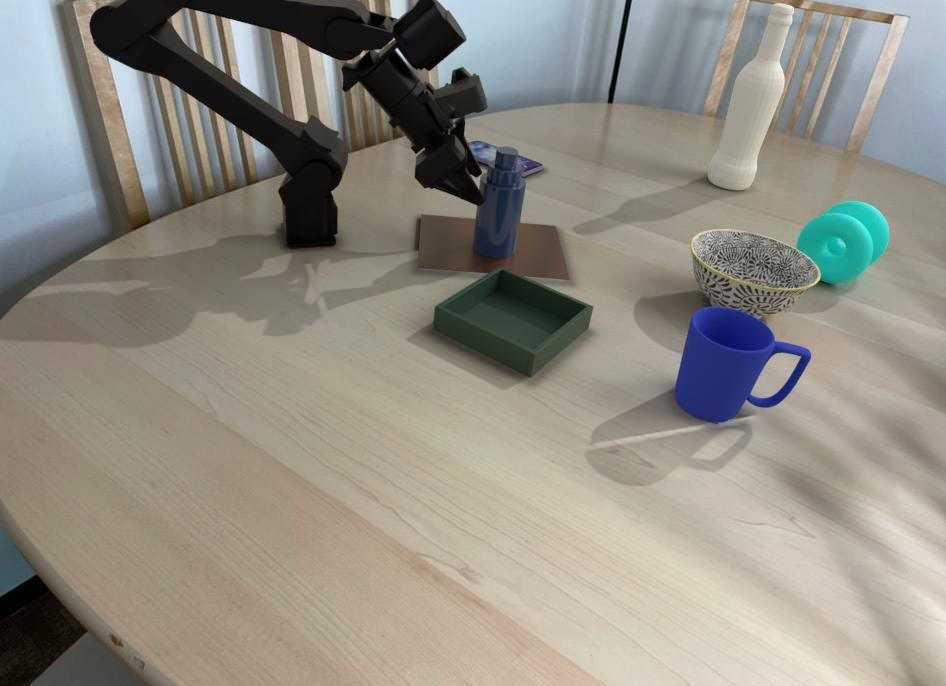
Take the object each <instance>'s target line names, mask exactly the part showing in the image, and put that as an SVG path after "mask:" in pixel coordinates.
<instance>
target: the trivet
mask: <svg viewBox="0 0 946 686" xmlns="http://www.w3.org/2000/svg"><path fill="white" fill-rule="evenodd" d="M475 219H476V218H469V217H457V216H445V215H435V214H434V215H433V214H422V213H421V214H420V225H419V226H420V227H419V240H418V242H419V243H418V245H419V246H418V257H417V268H418V269H428V270H441V271H454V272H463V273H477V274H488V273H490V272H491V271H493V270H495V269H496V268H498V267H500V266H501V267H503V268H505V269H508V270H510V271H512V272H515V273H517V274H519V275H522V276H524V277H526V278H539V279H554V280H563V281H566V280H567V281H571V277H570V274H569V270H568V266H567V263H566V262H567V261H566V258H565V255H564V251H563V247H562V244H561V241H560V237H559V232H558V229H557V226H556V225H551V224H538V223H528V222H527V223H525V222H520V226H519V232H518V239H517V245H516V251H515V254H514V255H513V256H511V257H508V258H504V259H493V258H488V257H484V256H482V255H480V254H478V253H476V252H475V251H474V249H473V247H472V244H473V236H474V227H475Z"/></svg>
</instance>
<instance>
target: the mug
mask: <svg viewBox="0 0 946 686" xmlns="http://www.w3.org/2000/svg"><path fill="white" fill-rule="evenodd" d="M683 346H684V347H683V351H682V355H681V359H680V363H679V368H678V372H677V376H676V381H675V387H674V396H675V400H676V403H677V405H679V407H680V408H681V409H682V410H683V411H684V412H686V413H687V414H689V415H690V416H691V417H694V418H696V419H699V420H701V421H704V422H709V423H713V424H714V423H715V424H718V423H719V424H720V423H726V422H728V421H731V420H732V419H734V418H735V417H736V416H737V415H738V414H739V413H740V411H741V410H742V408H743V406H744V404H745V403H746V401H747V402H748V403H749V404H751V406H752V405H753V406H754V407H757V408H762V409H769V408H773V407H776V406H777V405H779V404H780V403H782V402H783V401H784V400H785V399H786V398H787V397H788V396H789V394H791V392H792V390H793V389H794V388H795V387H796V386H797V384H798V382H799V380H800V379H801V378H802V376H803V374H804V372H805V370H806V368H807V367H808V365H809V363H810V361H811V359H812V352H811V350H810V349H809V348H807V347H804V346H802V345H798V344H793V343H790V342H785V341H778V340H776V336H775V335H774V333H773V331H772V330H771V328H770V327H769V326H768V325H767V324H766V323H764V322H763V321H762V320H761V319H757V318H756V317H754V316H752V315H750V314H747V313H745V312H742V311H739V310H736V309H731V308H726V307H712V306H707V307H703V308H700V309H698V310H696V311H694V312H693V314H692V315H691V317H690V321H689V324H688V329H687V334H686V338H685V342H684V345H683ZM777 354H789V355H793V356H796V357H800V358H799V360H798V362H797V363H796V365H795V368H794V369H793V370H792V373H791V375H790V376H789V377H788V379H787V381H786V382H785V383H784V384H783V386H782V387H781V388H780V389H779V390H778V391H777V392H776V393H774V394H773V395H770V396H768V397H756V396H755V395H753V394H752V392H753V389H754V387H755V385H756V383H757V381H758V379H759V378H760V376H761V374H762V372H763V370H764V368H765V367H766V365H767V363H769V361H770V359H771V358H772V357H773V356H775V355H777Z"/></svg>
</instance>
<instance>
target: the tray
mask: <svg viewBox="0 0 946 686" xmlns="http://www.w3.org/2000/svg"><path fill="white" fill-rule="evenodd" d="M593 311H594V305H591V304H589V303H586V302H584V301H582V300H579V299H577V298H575V297H573V296H570V295H568V294H565V293H564V292H561V291H559V290H556V289H554V288H552V287H550V286H547V285H544V284H543V283H540V282H538V281H536V280H533V279H531V278H530V277H526V276H522V275H519V274H517V273H515V272H512V271H510V270H508V269H505V268H503V267H501V266H500V267H498V268H496V269H495V270H493V271H491V272H490V273H486V274H485V275H484V276H482V277H480V278H479V279H477V280H475V281H474V282H472V283H470V284H469V285H467V286H465V287H463V288H462V289H460V290H459V291H458V292H456V293H453V295H451V296H449V297H448V298H445V299H444V300H443V301H441V302H440V303H438V304H437V305H434V312H433V313H434V314H433V325H432V330H434V331H436V332H438V333H440V334H442V335H444V336H446V337H448V338H450V339H452V340H454V341H456V342H458V343H460V344H462V345H463V346H466V347H468V348H470V349H472V350H474V351H476V352H478V353H480V354H482V355H484V356H486V357H488V358H490V359H493V360H494V361H496V362H498V363H500V364H502V365H504V366H505V367H508V368H511V369H512V370H514V371H516V372H518V373H520V374H522V375H525V376H526V377H528V378H533V377H534V376H535V375H536V374H537V373H538V372H539V371H541V370H542V369H543V368H544V367H545V366H547V365H548V364H549V363H550V362H551V361H552V360H553V359H555V358H556V357H557V356H558V355H559V354H560V353H562V352H563V351H564V350H565V349H566V348H567V347H569V346H570V345H571V344H572V343H573V342H575V341H576V340H577V339H578V338H579V337H581V335H583V334H584V333H585V332H586V331H587V330H589V328H590V324H591V319H592V315H593Z"/></svg>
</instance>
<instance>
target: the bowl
mask: <svg viewBox="0 0 946 686" xmlns="http://www.w3.org/2000/svg"><path fill="white" fill-rule="evenodd" d="M689 247H690V252H691V256H692V257H691V258H692V269H693V274H694V275H693V276H694V279H695V282H696V284H697V287H698V288H699V290H700V291H701V293H702V294H703V295H704V296H705V297H706V298H707V299H708V300H709V304H710V305H711V307H726V308H731V309H736V310H739V311H742V312H745V313H747V314H750V315H752V316H754V317H756V318H757V319H759V320H761V319H762V318H763V317H767V316H772V315H775V314H778V313H781V312H783V311H785V310H787V309H788V308H790V307H791V306H793V305H794V304H795V303H796V302H798V300H799V299H801V298H802V296H803V295H804V294H806V292H808V290H810V289H811V288H812V287H814V286H815V285H816V284H817V283H819V281H820V280H819V279H820V277H821V273H820V270H819V268H818V266H817V265H816V264H815V263H814V262H813V261H812V260H811V259H810V258H809V257H808V256H807V255H805V254H804V253H802V252H801V251H799V250H798V249H796V247H794V246H793V245H791V244H788V243H786V242H784V241H781V240H778V239H776V238H773V237H770V236H767V235H764V234H761V233H757V232H752V231H747V230H741V229H731V228H715V229H714V228H713V229H708V230H704V231H701V232H699V233H697V234H696V235H694V236H693V237H692V239H691V240H690V244H689Z"/></svg>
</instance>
